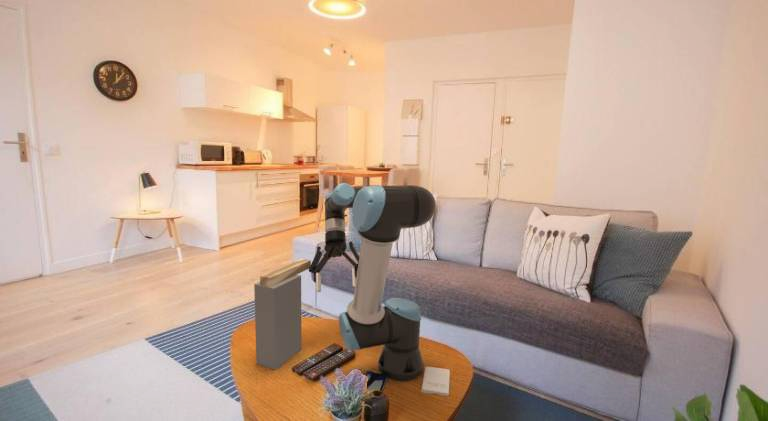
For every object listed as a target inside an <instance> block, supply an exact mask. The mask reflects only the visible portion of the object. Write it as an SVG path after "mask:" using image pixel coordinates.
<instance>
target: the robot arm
mask: <svg viewBox="0 0 768 421" xmlns="http://www.w3.org/2000/svg"><path fill="white" fill-rule="evenodd" d="M323 204H324V232H325V233H324V234H325V235H324V240H325V242H324V243H325V245H324V246H319V245H318V246H317V247H316V253H315V255H314V257H313V260H312V262H311V266H310V268H309V269H308V272H310V273H311V274H313V283H315V291H316V292H317V293H322V274H321V273H320V272H321V271H322V269H323V268H324V267H325V266H326V264H327V263H328V262H329V260H330V259H331V258H337V257H339V258H341V257H342V256H343V257H344V258H345V259H346V260H347V261H348V262H349V263H350V264H351V265H352V266H353V267H352V268H351V273H352V274H351V275H352V287H354V292H353V293H354V294H353V298H352V300H351V301H350V302H349V303H348V305H347V309H346V311H343V312H340V313H339V315H338V325H339V331H340V336H341V338H342V342H343V344H344V346H345V348H346V349H347V350H348V351H351V352H352V351H361V350H364V349H369V348H375V347H380V346H383V347H382V349H381V352H380V354H379V357H378V361H377V364H378V365H377V369H378V372H380V373H383V374H384V375H385V376H387V377H388V379H389V380H393V381H398V382H408V381H412V380H416V379H417V378H419V377H420V376H421V375H422V374H423V372H424V360H423V357H422V353H421V350H420V332H421V320H422V318H421V317H422V316H421V308H420V306H419V305H418V304H417V303H416V302H414V301H412V300H409V299H406V298H403V297H402V298H400V297H391V298H388V299H387V300H385V302H384V306H383V304H382V302H383V298H384V297H383V296H384V293H385V291H384V290H385V286H386V281H387V275H388V270H389V265H390V259H391V254H392V249H393V243H395V242H397V241H398V240H399V239H400V235H401V231H402V229H409V228H410V229H411V228H418V227H421V226H423V225H425V224H427V223H428V222H429V221H430V220H431V219H432V218H433V216H434V215H435V212H436V207H437V203H436V200H435V197H434V195H433V193H432V192H431V191H430V190H428V189H427V188H426V187H423V186H420V185H409V184H408V185H379V184H377V185H372V186H371V185H370V186H364V187H353V186H352V185H351V184H348V183H347V182H343V183H342V182H341V183H340V184H338V185H336V186H335V187H334V189H332V192H329V193H327V194H326V195H325V196H324V203H323ZM347 209H352V211H351V213H352V217H351V220H352V224H353V226H354V228H355V229H356V230H357V234H358V235H359V237H361V242H360V251H359V254H358V251H357V250H356V247H355V244H354V242H353V241H349V242H348V243H346V233H345V232H346V218H345V217H346V216H345V215H346V211H347ZM347 248H348V249H349V250H350V251H351V253H352V255H353V257H354V258H355V260H356V262H355V260H354V259H353V258H351V256H349V254H348V253H347V252H346V250H347ZM324 252H325V253H324Z"/></svg>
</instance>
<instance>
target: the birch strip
mask: <svg viewBox="0 0 768 421" xmlns="http://www.w3.org/2000/svg"><path fill="white" fill-rule="evenodd" d="M311 264H312V262H311V259H307V258H300V259H297V260H296V261H292V262H291V263H287V264H285V265H283V266H281V267H279V268H276V269H273V270H271V271H268V272H266V273H263V274H261V275H260V276H259V282H260V285H263V286H268V287H271V286H273V285H275V284H277V283H280V282H282V281H284V280H286V279H288V278H290V277H292V276H295V275H300V274H301V273H303V272H305V271H307V270H309V268H310V266H311Z"/></svg>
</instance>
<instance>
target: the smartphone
mask: <svg viewBox="0 0 768 421" xmlns="http://www.w3.org/2000/svg"><path fill="white" fill-rule="evenodd" d="M364 375H366V376H367V377H368V381H367V390H368V391H372V390H380V391H381V392H382V393H383V391H384V389H385V386H386V384H387V381H388V379H389V378H388V377H387V376H385V375H384V374H383V373H380V371H373V370H366V371H365V374H364Z"/></svg>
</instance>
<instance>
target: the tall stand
mask: <svg viewBox="0 0 768 421" xmlns="http://www.w3.org/2000/svg"><path fill="white" fill-rule="evenodd" d="M253 290H254V318H255V319H254V321H255V323H254V324H255V326H254V327H255V358H256V359H255V360H256V361H255V362H256V365H259V366H262V367H265V368H268V369H270V370H274V371H277V370H278V369H279V368H280V367H281V366H283V365H284V364H286V363H287V362H288V361H289V360H291V359H292V358H294V356H295V355H297V354H299V353H300V352H301V351H302V349H303V348H302V346H303V344H302V342H303V341H302V331H303V330H302V275H300V274H297V275H295V276H292V277H290V278H288V279H286V280H284V281H282V282H280V283H277V284H275V285H273V286H271V287H268V286H263V285H260V281H258V282H257V283H254V284H253Z"/></svg>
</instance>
